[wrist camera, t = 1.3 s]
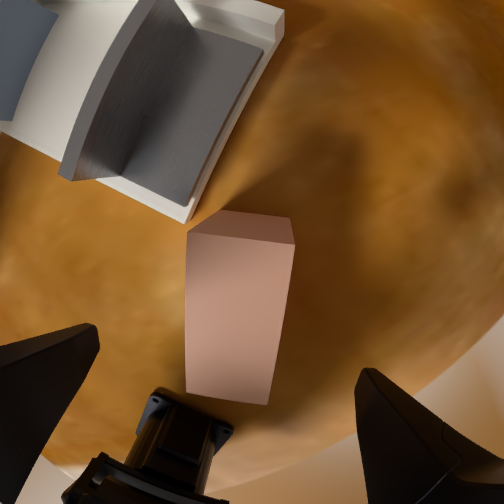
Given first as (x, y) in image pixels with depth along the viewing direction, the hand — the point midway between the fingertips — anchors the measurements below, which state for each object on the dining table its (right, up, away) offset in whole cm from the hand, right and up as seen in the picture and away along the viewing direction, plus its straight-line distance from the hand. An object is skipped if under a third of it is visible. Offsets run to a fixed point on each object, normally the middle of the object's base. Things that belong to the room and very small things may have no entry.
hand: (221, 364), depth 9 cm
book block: (+1, +2, +7) cm, 7 cm away
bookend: (-2, +10, +4) cm, 11 cm away
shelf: (-8, +14, +4) cm, 17 cm away
